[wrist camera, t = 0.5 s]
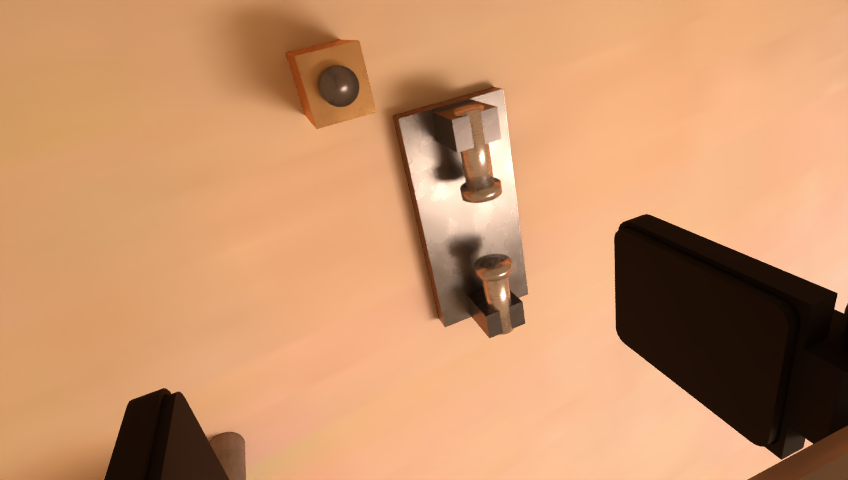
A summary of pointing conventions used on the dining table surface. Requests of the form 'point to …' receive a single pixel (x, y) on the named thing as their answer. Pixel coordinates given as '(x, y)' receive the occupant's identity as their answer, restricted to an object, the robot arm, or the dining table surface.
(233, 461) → the hip flask
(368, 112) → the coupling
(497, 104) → the shaft rig
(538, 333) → the dining table surface
